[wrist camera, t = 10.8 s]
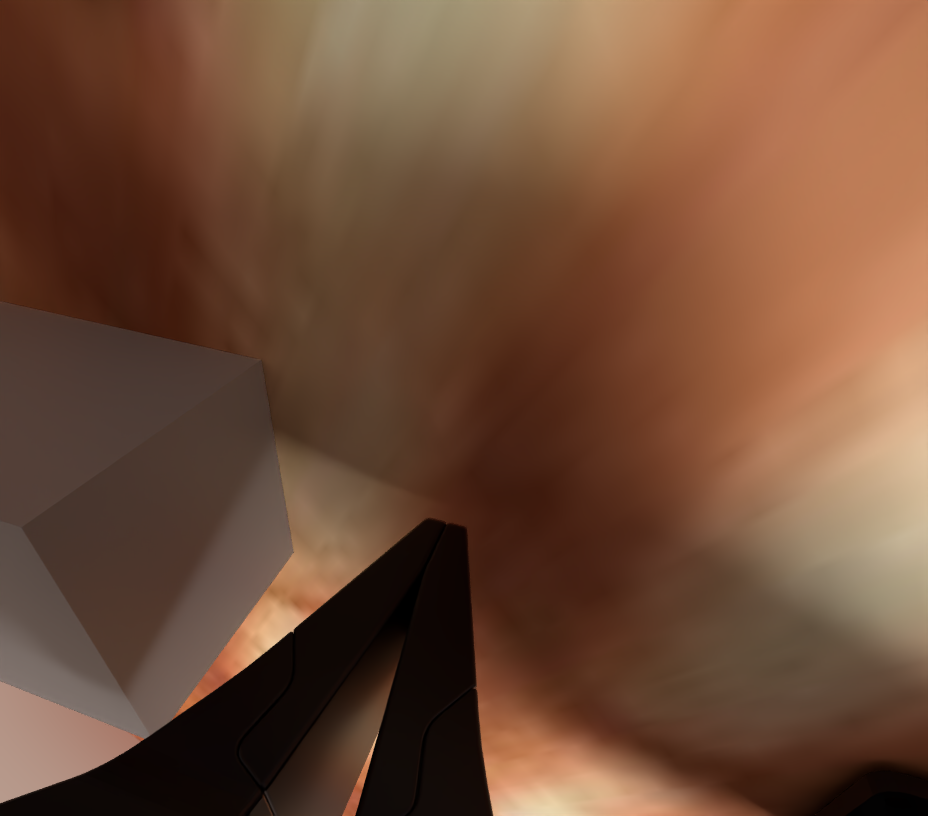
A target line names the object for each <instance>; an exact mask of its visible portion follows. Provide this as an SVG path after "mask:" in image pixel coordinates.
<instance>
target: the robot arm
mask: <svg viewBox="0 0 928 816" xmlns="http://www.w3.org/2000/svg"><path fill="white" fill-rule="evenodd" d="M476 687H477V683H476V667H475V651H474V635H473V619H472V603H471V587H470V571H469V555H468V539H467V529H466V527H465V526H462V525H458V524H454V523H448V524H446V522H444V521H441V520H437V519H433V518H427V519H425V520H424V521H422V522H421V523H420V524H419V525H418V526H416V527H415V528H414V529H413V530H412V531H411V532H409V533H408V534H407V535H406V536H405V537H403V538H402V539H401V540H400V541H399V542H397V543H396V544H395V545H394V546H393V547H391V548H390V549H389V550H388V551H387V552H385V553H384V554H383V555H382V556H381V557H379V558H378V559H377V560H376V561H375V562H373V563H372V564H371V565H370V566H369V567H368V568H366V569H365V570H364V571H363V572H362V573H360V574H359V575H358V576H357V577H356V578H354V579H353V580H352V581H351V582H350V583H348V584H347V585H346V586H345V587H344V588H342V589H341V590H340V591H339V592H338V593H336V594H335V595H334V596H333V597H332V598H330V599H329V600H328V601H327V602H326V603H325V604H323V605H322V606H321V607H320V608H319V609H317V610H316V611H315V612H314V613H313V614H311V615H310V616H309V617H308V618H307V619H305V620H304V621H303V622H302V623H301V624H299V625H298V626H297V627H296V628H295V629H294V633H293V632H290V633H288V634H287V635H286V636H285V637H284V638H282V639H281V640H280V641H279V642H278V643H277V644H275V645H274V646H273V647H272V648H270V649H269V650H268V651H267V652H265V653H264V654H263V655H262V656H260V657H259V658H258V659H257V660H255V661H254V662H253V663H252V664H250V665H249V666H248V667H247V668H245V669H244V670H242V671H241V672H240V673H238V674H237V675H235V676H234V677H233V678H231V679H230V680H229V681H227V682H226V683H224V684H223V685H222V686H220V687H219V688H217V689H216V690H215V691H213V692H212V693H210V694H209V695H207V696H206V697H205V698H203V699H202V700H200V701H199V702H197V703H196V704H194V705H193V706H192V707H190V708H189V709H187V710H186V711H184V712H183V713H182V714H180V715H179V716H177V717H176V718H174V719H173V720H171V721H170V722H169V723H167V724H166V725H164V726H163V727H161V728H160V729H158V730H157V731H156V732H154V733H153V734H151V735H150V736H148V737H147V738H145V739H144V740H143V741H141V742H140V743H138V744H137V745H136V746H134V747H132V748H131V749H129V750H128V751H126V752H124V753H123V754H121V755H119V756H118V757H116V758H114V759H112V760H110V761H109V762H107V763H105V764H103V765H101V766H99V767H97V768H95V769H92V770H90V771H88V772H86V773H84V774H81V775H79V776H76V777H74V778H71V779H68V780H65V781H62V782H59V783H56V784H54V785H51V786H48V787H45V788H42V789H39V790H37V791H34V792H31V793H28V794H25V795H22V796H20V797H17V798H14V799H11V800H8V801H6V802H3V803H0V816H342V815H343V812H344V810H345V808H346V805H347V803H348V801H349V798H350V796H351V794H352V792H353V789H354V787H355V785H356V782H357V780H358V778H359V775H360V773H361V771H362V768H363V766H364V764H365V762H366V759H367V757H368V755H369V752H370V750H371V748H372V745H373V743H374V741H375V738H376V736H377V734H378V737H377V740H376V744H375V747H374V751H373V755H372V758H371V762H370V765H369V769H368V772H367V776H366V780H365V783H364V787H363V790H362V794H361V797H360V801H359V805H358V808H357V812H356V815H355V816H493V812H492V806H491V801H490V795H489V790H488V784H487V778H486V771H485V765H484V758H483V752H482V744H481V733H480V723H479V712H478V695H477V690H476ZM378 732H379V733H378ZM814 816H928V781H926V780H922V779H919V778H915V777H912V776H909V775H905V774H902V773H897V772H892V771H876V772H871V773H869V774H867V775H865V776H864V777H862V778H861V779H860V780H859V781H857V782H856V783H855V784H853V785H852V786H851V787H850V788H848V789H847V790H846V791H845V792H843V793H842V794H841V795H840V796H838V797H837V798H836V799H835V800H833V801H832V802H831V803H830V804H828V805H827V806H826V807H825V808H823V809H822V810H821V811H819V812H818V813H817V814H816V815H814Z"/></svg>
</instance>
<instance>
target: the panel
mask: <svg viewBox="0 0 928 816" xmlns="http://www.w3.org/2000/svg"><path fill="white" fill-rule="evenodd" d="M293 553H294V552H293V546H292V540H291V534H290V528H289V522H288V516H287V510H286V504H285V498H284V492H283V486H282V480H281V474H280V468H279V462H278V456H277V450H276V444H275V438H274V432H273V426H272V420H271V414H270V408H269V402H268V396H267V390H266V384H265V378H264V372H263V366H262V360H260V359H256V358H251V357H247V356H242V355H238V354H233V353H229V352H224V351H220V350H216V349H211V348H207V347H202V346H198V345H193V344H189V343H184V342H180V341H176V340H171V339H167V338H162V337H158V336H153V335H149V334H144V333H140V332H136V331H131V330H127V329H122V328H118V327H113V326H109V325H104V324H100V323H96V322H91V321H87V320H82V319H78V318H73V317H69V316H64V315H60V314H55V313H51V312H47V311H42V310H38V309H33V308H29V307H24V306H20V305H15V304H11V303H7V302H2V301H0V681H1V682H4V683H6V684H9V685H11V686H14V687H16V688H19V689H22V690H24V691H26V692H29V693H31V694H34V695H36V696H39V697H41V698H44V699H46V700H49V701H51V702H54V703H56V704H59V705H61V706H64V707H67V708H69V709H72V710H74V711H77V712H79V713H82V714H84V715H87V716H90V717H92V718H95V719H97V720H99V721H102V722H104V723H107V724H109V725H112V726H114V727H117V728H119V729H122V730H124V731H127V732H129V733H132V734H134V735H137V736H139V737H142V738H144V739H145V738H147V737H148V736H150V735H151V734H153V733H154V732H156V731H157V730H158V729H160V728H161V727H163V726H164V725H166V724H167V723H169V722H170V721H171V720H172V719H173V717H174V716H175V714H176V713H177V712H178V710H179V709H180V708H181V706H182V705H183V703H184V702H185V701H186V699H187V698H188V697H189V695H190V694H191V693H192V691H193V690H194V688H195V687H196V686H197V684H198V683H199V682H200V680H201V679H202V677H203V676H204V675H205V673H206V672H207V671H208V669H209V668H210V666H211V665H212V664H213V662H214V661H215V660H216V658H217V657H218V655H219V654H220V653H221V651H222V650H223V649H224V647H225V646H226V645H227V643H228V642H229V640H230V639H231V638H232V636H233V635H234V634H235V632H236V631H237V629H238V628H239V627H240V625H241V624H242V623H243V621H244V620H245V618H246V617H247V616H248V614H249V613H250V612H251V610H252V609H253V607H254V606H255V605H256V603H257V602H258V601H259V599H260V598H261V597H262V595H263V594H264V592H265V591H266V590H267V588H268V587H269V586H270V584H271V583H272V581H273V580H274V579H275V577H276V576H277V575H278V573H279V572H280V570H281V569H282V568H283V566H284V565H285V564H286V562H287V561H288V560H289V558H290V557H291V555H292V554H293Z"/></svg>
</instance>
